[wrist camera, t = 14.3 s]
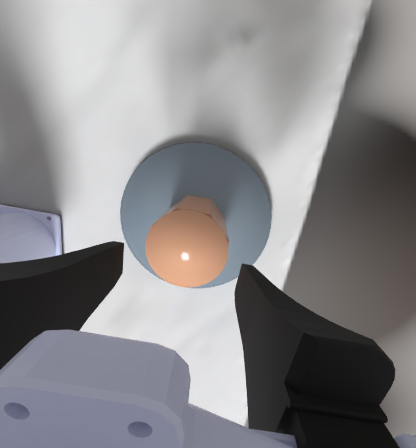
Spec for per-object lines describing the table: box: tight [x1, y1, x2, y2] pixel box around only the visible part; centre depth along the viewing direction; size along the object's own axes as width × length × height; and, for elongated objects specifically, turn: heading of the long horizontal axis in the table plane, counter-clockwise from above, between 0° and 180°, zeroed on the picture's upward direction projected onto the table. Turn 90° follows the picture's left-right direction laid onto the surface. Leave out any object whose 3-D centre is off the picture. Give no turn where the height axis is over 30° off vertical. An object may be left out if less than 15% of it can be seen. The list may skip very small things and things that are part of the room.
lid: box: [120, 143, 271, 288], centre depth 21 cm, size 16×16×1 cm
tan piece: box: [145, 195, 229, 287], centre depth 17 cm, size 6×6×7 cm
